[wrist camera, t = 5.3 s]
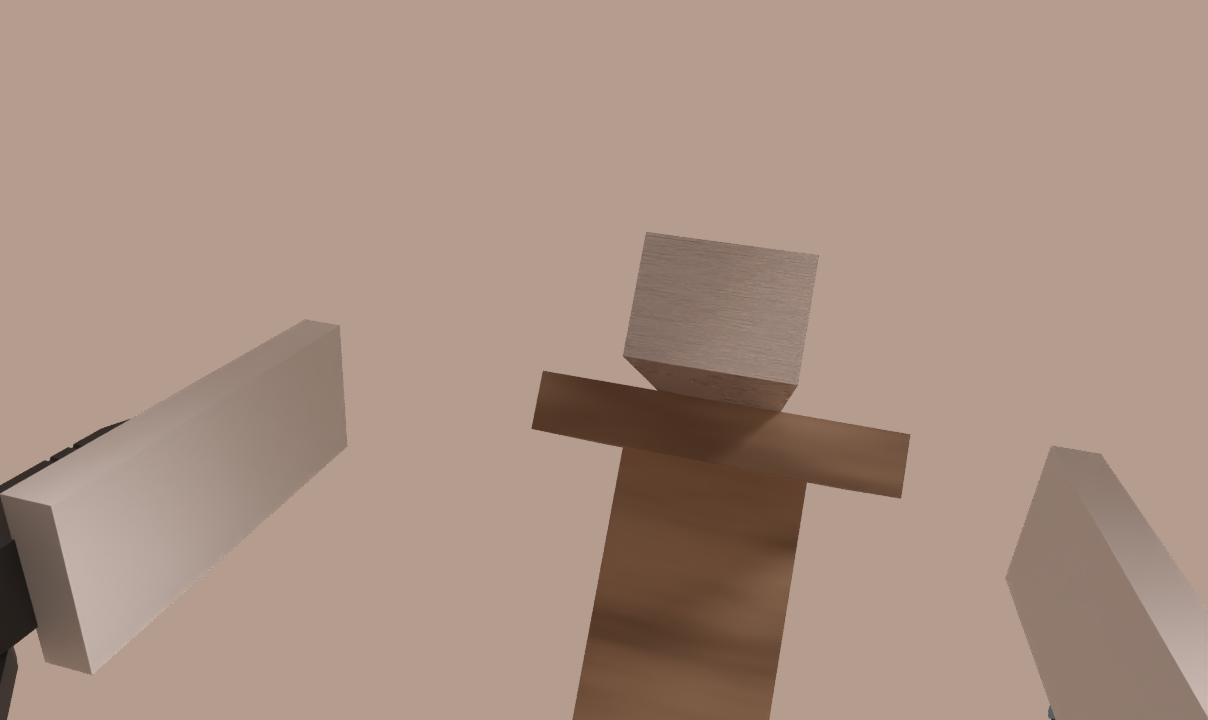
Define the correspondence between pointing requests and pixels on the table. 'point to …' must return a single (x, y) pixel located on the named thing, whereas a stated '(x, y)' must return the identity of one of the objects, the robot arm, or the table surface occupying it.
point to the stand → (701, 541)
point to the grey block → (720, 319)
